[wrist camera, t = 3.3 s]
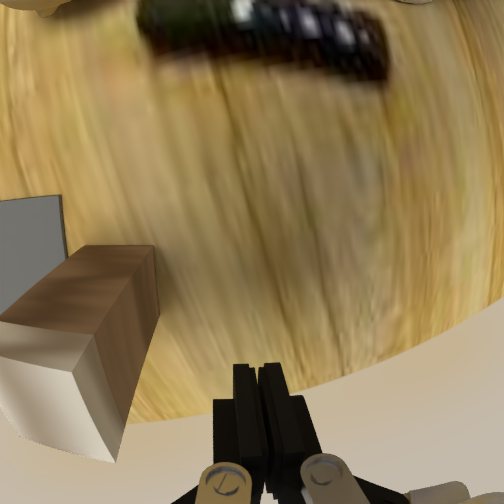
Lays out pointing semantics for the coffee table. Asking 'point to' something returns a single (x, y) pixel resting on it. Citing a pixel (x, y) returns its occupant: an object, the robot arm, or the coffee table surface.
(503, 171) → the coffee table surface
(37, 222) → the rubber mat
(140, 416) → the coffee table surface
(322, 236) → the coffee table surface
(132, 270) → the walnut block
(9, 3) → the tan rounded figure
